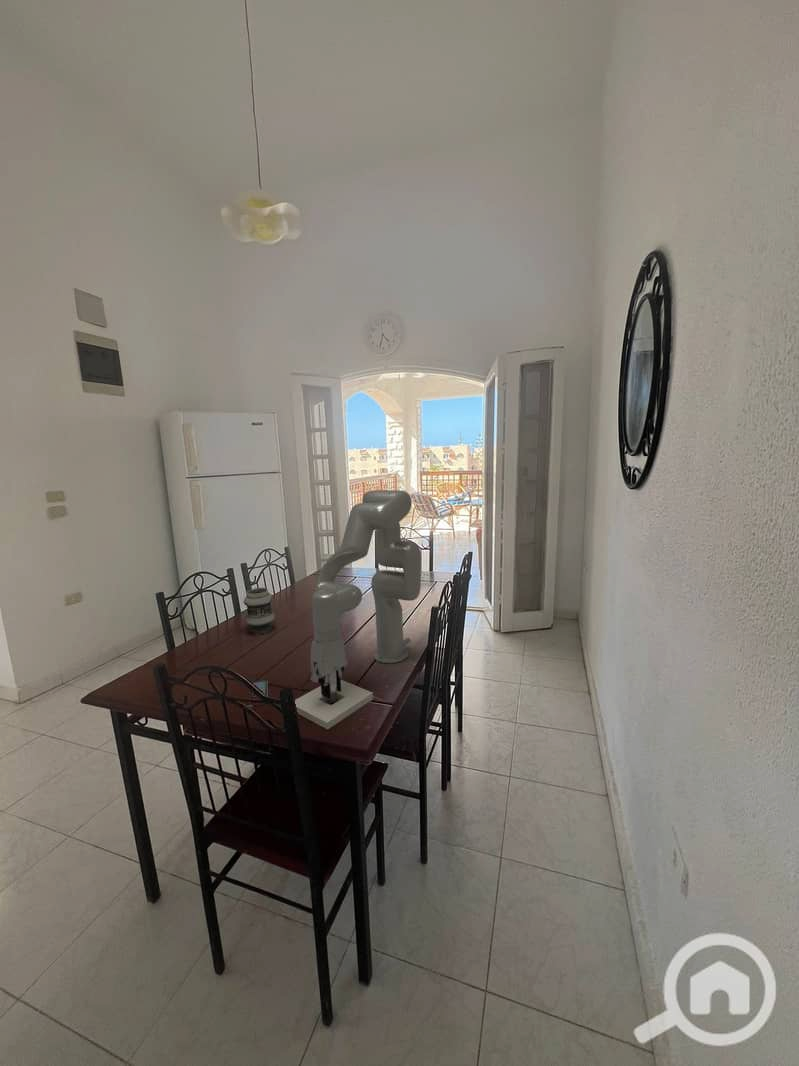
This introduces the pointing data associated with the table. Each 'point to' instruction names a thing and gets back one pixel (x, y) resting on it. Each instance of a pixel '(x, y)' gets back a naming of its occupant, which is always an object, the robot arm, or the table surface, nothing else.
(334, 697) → the peg
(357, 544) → the robot arm
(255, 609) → the apothecary jar
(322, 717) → the socket plate
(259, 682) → the smartphone
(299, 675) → the table surface
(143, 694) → the table surface
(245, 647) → the table surface
